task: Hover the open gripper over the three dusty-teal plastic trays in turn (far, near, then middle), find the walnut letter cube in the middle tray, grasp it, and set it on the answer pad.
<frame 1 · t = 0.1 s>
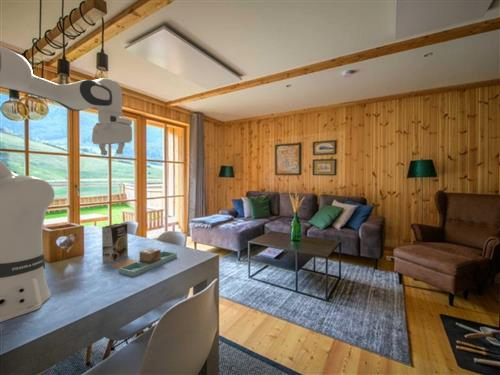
hand: (111, 154, 98), 48 cm above the table, fingers open, 8 cm apart
tray middle: (150, 265, 103), on the table
coffee box: (115, 259, 111), on the table
tray near: (134, 272, 96), on the table
letter cube: (150, 264, 103), resting on tray middle
tray far: (164, 259, 110), on the table
answer pad: (127, 265, 103), on the table
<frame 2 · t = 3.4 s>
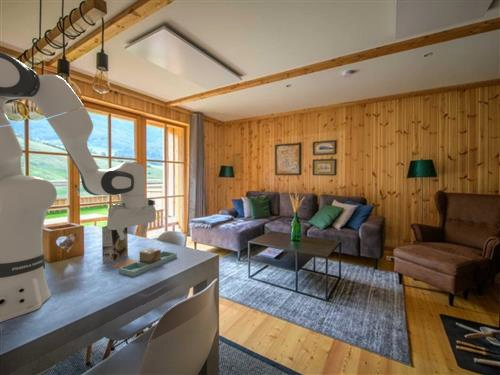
hand: (133, 236, 95), 15 cm above the table, fingers open, 8 cm apart
nothing on the table moved.
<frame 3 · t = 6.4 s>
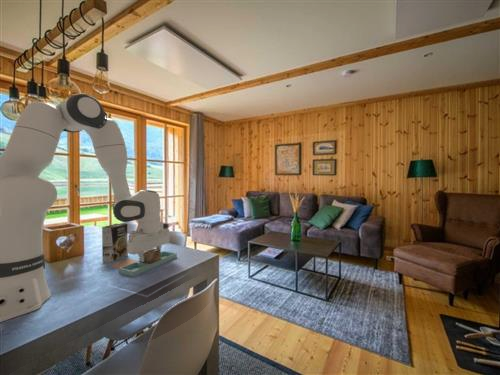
hand: (150, 258, 103), 3 cm above the table, fingers closed on letter cube, 6 cm apart
letter cube: (150, 264, 103), resting on tray middle, touching gripper
everything else where it was.
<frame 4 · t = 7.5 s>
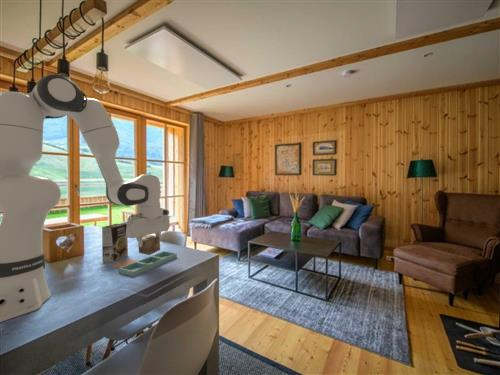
hand: (149, 244, 102), 10 cm above the table, fingers closed on letter cube, 6 cm apart
letter cube: (149, 251, 102), point 7 cm above the table, tilted 5°, touching gripper
everything else where it was.
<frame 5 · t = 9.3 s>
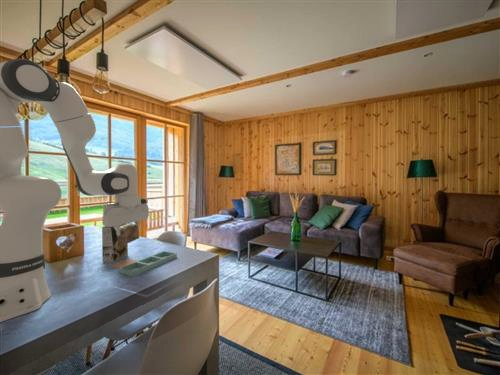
hand: (127, 233, 102), 14 cm above the table, fingers closed on letter cube, 6 cm apart
letter cube: (128, 239, 103), point 11 cm above the table, tilted 8°, touching gripper
everything else where it was.
when the fingers open (5 cm above the table, at t = 11.4 s): letter cube stays where it is, resting on answer pad.
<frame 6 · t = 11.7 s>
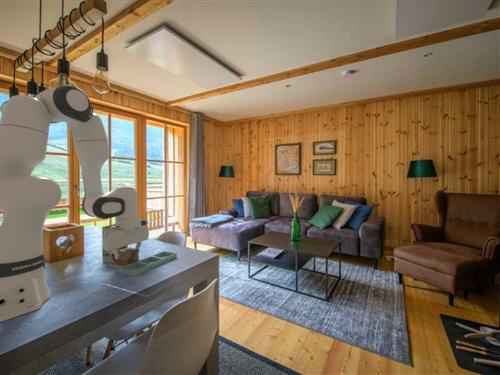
hand: (127, 255, 103), 5 cm above the table, fingers open, 8 cm apart
letter cube: (128, 263, 103), point 1 cm above the table, touching answer pad
everything else where it was.
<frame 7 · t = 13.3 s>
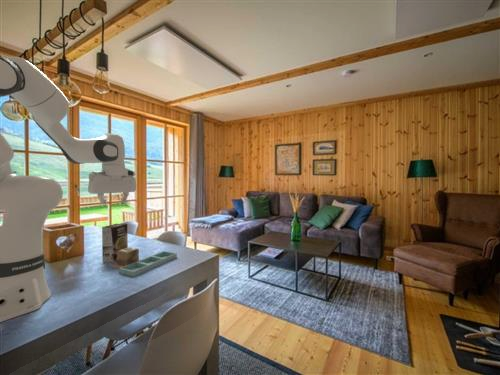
hand: (114, 203, 104), 27 cm above the table, fingers open, 8 cm apart
nothing on the table moved.
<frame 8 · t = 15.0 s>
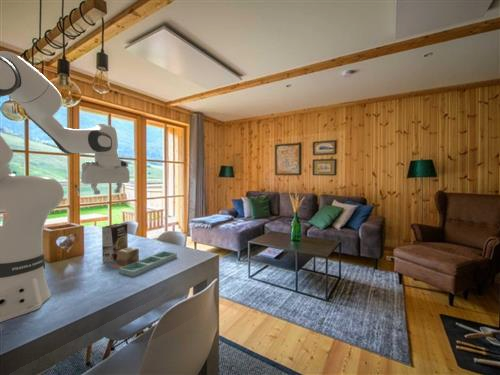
hand: (107, 193, 105), 31 cm above the table, fingers open, 8 cm apart
nothing on the table moved.
at the end: letter cube inside the target area on the answer pad (0.4 cm from its centre), point 0.8 cm above the answer pad's base; letter cube tilted 0°; the gripper is holding nothing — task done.
